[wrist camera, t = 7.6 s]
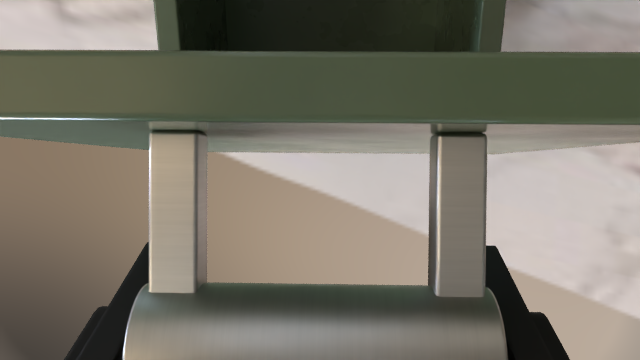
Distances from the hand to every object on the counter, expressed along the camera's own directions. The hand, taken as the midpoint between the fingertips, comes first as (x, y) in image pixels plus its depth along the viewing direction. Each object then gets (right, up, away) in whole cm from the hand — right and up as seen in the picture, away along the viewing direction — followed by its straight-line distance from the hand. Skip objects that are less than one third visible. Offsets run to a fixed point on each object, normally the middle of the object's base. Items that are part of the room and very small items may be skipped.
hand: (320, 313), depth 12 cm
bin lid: (0, +4, +2) cm, 5 cm away
